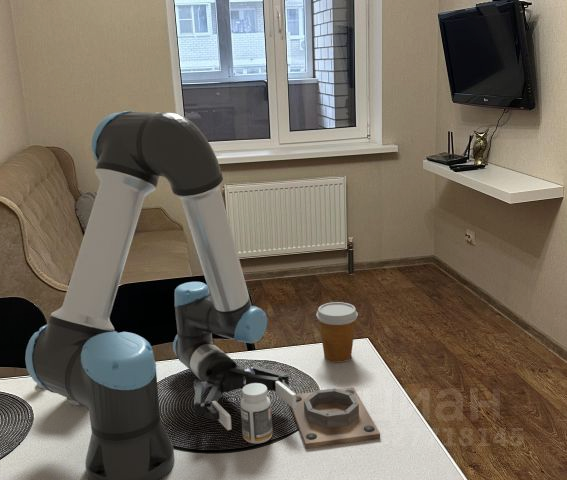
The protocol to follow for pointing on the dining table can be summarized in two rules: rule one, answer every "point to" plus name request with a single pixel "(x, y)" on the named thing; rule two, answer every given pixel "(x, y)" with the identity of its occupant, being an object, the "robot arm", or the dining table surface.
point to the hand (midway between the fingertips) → (262, 412)
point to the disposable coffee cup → (337, 330)
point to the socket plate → (333, 418)
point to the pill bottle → (256, 413)
